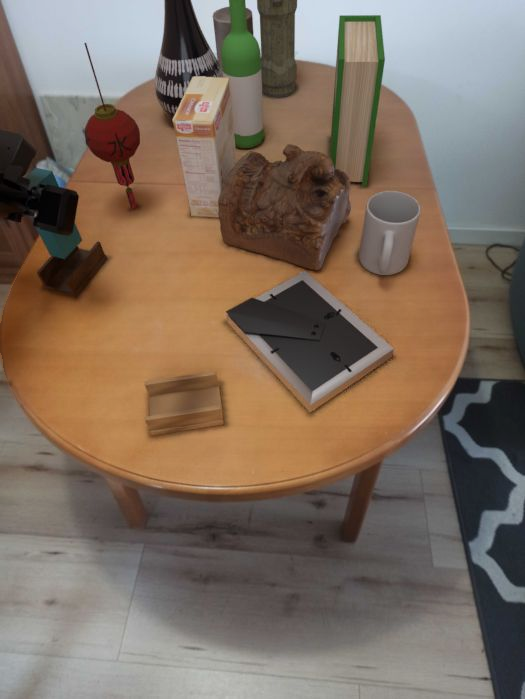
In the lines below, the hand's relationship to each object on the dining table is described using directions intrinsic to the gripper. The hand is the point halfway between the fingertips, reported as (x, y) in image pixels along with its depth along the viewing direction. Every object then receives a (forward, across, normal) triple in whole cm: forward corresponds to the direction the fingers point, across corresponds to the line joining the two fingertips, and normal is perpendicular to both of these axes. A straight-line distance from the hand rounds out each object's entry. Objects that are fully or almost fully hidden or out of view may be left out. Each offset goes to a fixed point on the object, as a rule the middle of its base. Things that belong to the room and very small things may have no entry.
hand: (56, 209), depth 79 cm
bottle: (+43, -12, -24) cm, 50 cm away
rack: (+8, 0, +10) cm, 13 cm away
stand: (-4, -30, +23) cm, 38 cm away
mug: (+22, -49, -4) cm, 54 cm away
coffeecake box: (+29, -13, -10) cm, 33 cm away
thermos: (+60, -10, -41) cm, 73 cm away
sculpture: (+24, -31, -6) cm, 40 cm away
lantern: (+22, 0, -4) cm, 22 cm away
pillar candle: (+63, +3, -45) cm, 77 cm away
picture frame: (+8, -42, +10) cm, 44 cm away
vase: (+47, +4, -28) cm, 55 cm away
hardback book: (+42, -35, -24) cm, 60 cm away
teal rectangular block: (+4, 0, +6) cm, 7 cm away
